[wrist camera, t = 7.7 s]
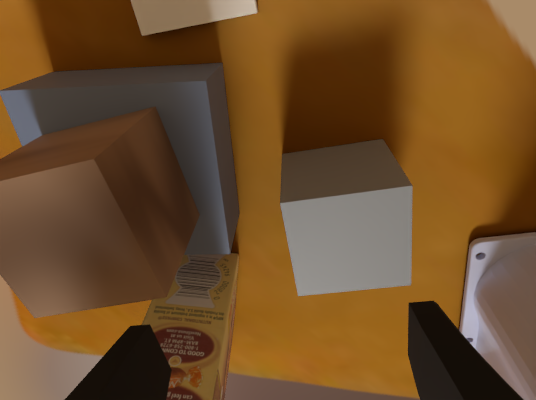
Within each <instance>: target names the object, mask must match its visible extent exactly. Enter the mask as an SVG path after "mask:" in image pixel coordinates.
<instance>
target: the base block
mask: <svg viewBox="0 0 536 400" xmlns="http://www.w3.org/2000/svg"><path fill="white" fill-rule="evenodd" d="M0 95H1V97H2V99H3V102H4V104H5V107H6V109H7V111H8V114H9V116H10V118H11V121H12V123H13V125H14V128H15V130H16V133H17V135H18V137H19V140H20V142H21V144H22V147H23V146H24V145H26V144H28V143H29V142H31V141H33V140H35V139H36V138H38V137H40V136H42V135H45V134H49V133H53V132H57V131H61V130H64V129H68V128H72V127H76V126H80V125H84V124H88V123H92V122H96V121H100V120H104V119H108V118H112V117H116V116H120V115H124V114H127V113H131V112H135V111H139V110H143V109H147V108H151V107H155V106H156V109H157V111H158V114H159V116H160V118H161V121H162V123H163V126H164V128H165V131H166V133H167V136H168V138H169V141H170V143H171V145H172V148H173V150H174V153H175V155H176V158H177V160H178V163H179V165H180V168H181V170H182V173H183V175H184V177H185V180H186V182H187V185H188V187H189V190H190V192H191V195H192V197H193V200H194V202H195V205H196V207H197V209H198V212H199V214H200V216H199V219H198V221H197V223H196V226H195V228H194V231H193V233H192V236H191V238H190V241H189V243H188V246H187V248H186V251H185V253H184V255H213V254H230V253H231V249H232V244H233V240H234V235H235V231H236V226H237V222H238V217H239V204H238V195H237V187H236V178H235V169H234V160H233V152H232V143H231V134H230V125H229V117H228V108H227V99H226V90H225V82H224V73H223V64H222V63H208V64H190V65H171V66H152V67H133V68H114V69H95V70H76V71H57V72H51V73H48V74H46V75H43V76H40V77H37V78H34V79H31V80H29V81H26V82H23V83H20V84H17V85H14V86H12V87H9V88H6V89H3V90H0Z"/></svg>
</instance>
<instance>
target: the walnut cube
mask: <svg viewBox="0 0 536 400" xmlns="http://www.w3.org/2000/svg"><path fill="white" fill-rule="evenodd" d="M199 216H200V214H199V212H198V209H197V207H196V205H195V202H194V200H193V197H192V195H191V192H190V190H189V187H188V185H187V182H186V180H185V177H184V175H183V173H182V170H181V168H180V165H179V163H178V160H177V158H176V155H175V153H174V150H173V148H172V145H171V143H170V141H169V138H168V136H167V133H166V131H165V128H164V126H163V123H162V121H161V118H160V116H159V114H158V111H157V109H156V106H155V107H151V108H147V109H143V110H139V111H135V112H131V113H127V114H124V115H120V116H116V117H112V118H108V119H104V120H100V121H96V122H92V123H88V124H84V125H80V126H76V127H72V128H68V129H64V130H61V131H57V132H53V133H49V134H45V135H42V136H40V137H38V138H36V139H35V140H33V141H31V142H29V143H28V144H26V145H24V146H23V147H21V148H19V149H17V150H16V151H14V152H12V153H10V154H9V155H7V156H5V157H4V158H2V159H0V275H1V276H2V277H3V279H4V280H5V281H6V282H7V284H8V285H9V286H10V288H11V289H12V290H13V291H14V293H15V294H16V295H17V296H18V298H19V299H20V300H21V301H22V303H23V304H24V305H25V306H26V308H27V309H28V310H29V311H30V313H31V314H32V315H33V316H34V318H37V317H44V316H50V315H57V314H63V313H69V312H76V311H82V310H89V309H95V308H101V307H108V306H114V305H120V304H127V303H133V302H140V301H146V300H152V299H159V298H165V297H167V295H168V293H169V290H170V288H171V285H172V283H173V280H174V278H175V275H176V273H177V271H178V268H179V266H180V263H181V261H182V258H183V256H184V253H185V251H186V248H187V246H188V243H189V241H190V238H191V236H192V233H193V231H194V228H195V226H196V223H197V221H198V219H199Z"/></svg>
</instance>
